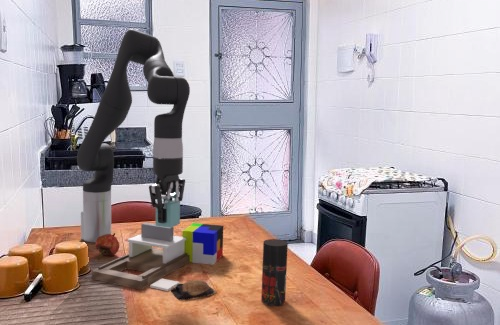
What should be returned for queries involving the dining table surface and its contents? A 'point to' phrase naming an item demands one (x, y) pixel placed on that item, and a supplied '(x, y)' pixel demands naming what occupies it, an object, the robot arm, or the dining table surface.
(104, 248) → the pomegranate
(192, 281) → the bread roll
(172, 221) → the block
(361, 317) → the dining table surface
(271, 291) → the deodorant
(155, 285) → the pad
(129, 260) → the brown flat frame
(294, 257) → the dining table surface
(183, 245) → the cover
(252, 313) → the dining table surface
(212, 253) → the puzzle toy
